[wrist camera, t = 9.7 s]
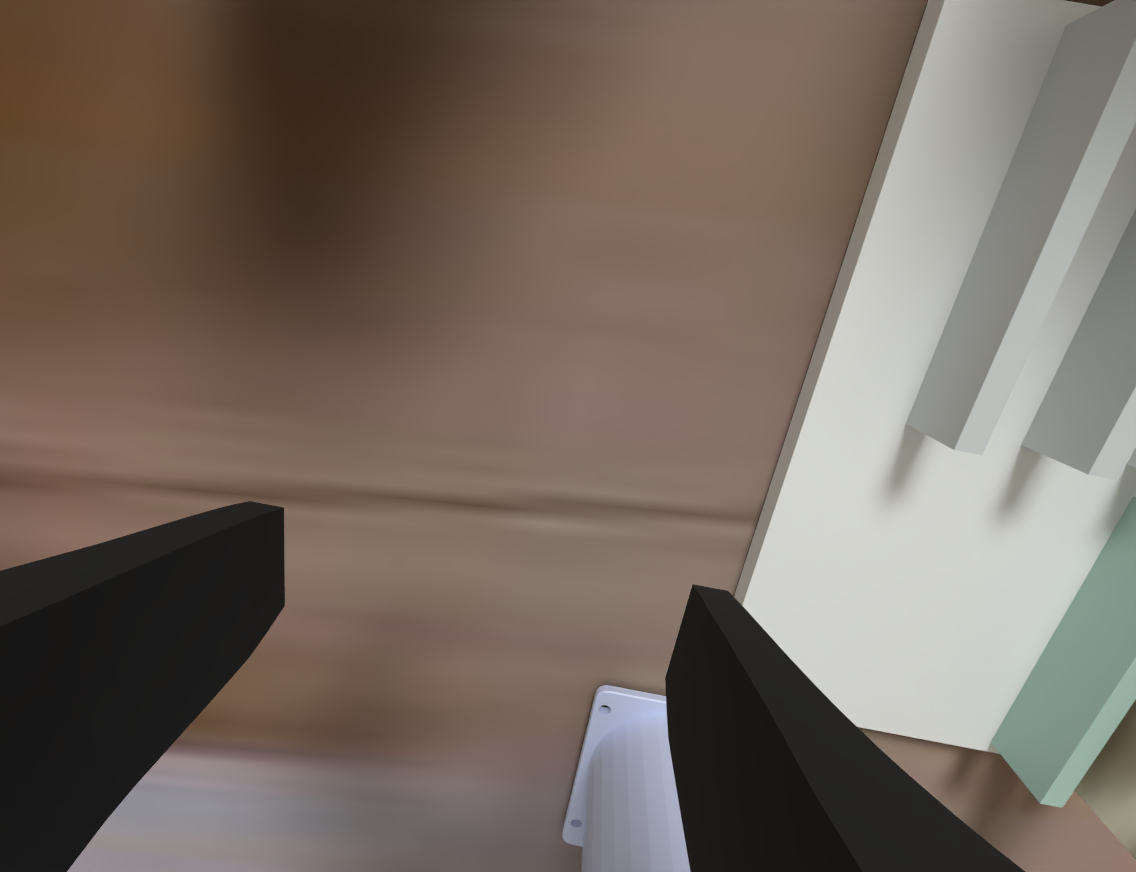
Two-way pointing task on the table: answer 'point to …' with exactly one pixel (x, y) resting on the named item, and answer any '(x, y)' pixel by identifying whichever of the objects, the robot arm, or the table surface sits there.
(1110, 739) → the birch sheet
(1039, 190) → the rack
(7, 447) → the table surface
